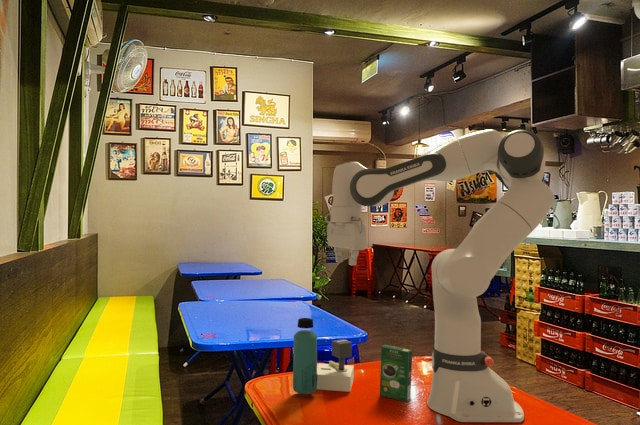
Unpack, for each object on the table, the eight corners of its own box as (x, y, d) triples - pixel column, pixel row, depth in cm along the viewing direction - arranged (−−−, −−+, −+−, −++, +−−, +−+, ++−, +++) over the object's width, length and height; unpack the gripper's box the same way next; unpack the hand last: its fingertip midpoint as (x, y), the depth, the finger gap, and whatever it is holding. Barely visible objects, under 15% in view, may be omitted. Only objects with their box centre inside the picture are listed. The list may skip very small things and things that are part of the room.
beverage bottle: (314, 401, 120) (315, 321, 121) (288, 398, 122) (290, 320, 122) (319, 392, 127) (320, 316, 127) (295, 389, 128) (296, 315, 129)
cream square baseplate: (353, 378, 138) (354, 363, 138) (350, 391, 127) (350, 376, 128) (313, 375, 140) (313, 361, 140) (306, 388, 129) (306, 372, 129)
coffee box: (412, 399, 123) (413, 348, 123) (408, 403, 120) (408, 351, 120) (383, 393, 127) (384, 343, 127) (379, 396, 125) (379, 346, 125)
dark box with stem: (351, 370, 132) (352, 341, 132) (339, 372, 130) (340, 343, 130) (336, 362, 139) (336, 335, 139) (324, 364, 137) (324, 337, 137)
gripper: (372, 217, 132) (371, 266, 132) (342, 217, 151) (341, 260, 151) (351, 216, 130) (350, 267, 130) (324, 216, 149) (323, 260, 149)
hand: (345, 263), depth 141 cm, fingers open, 8 cm apart
